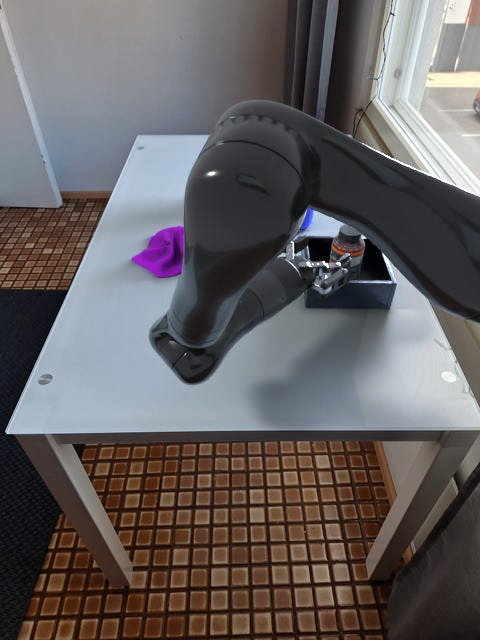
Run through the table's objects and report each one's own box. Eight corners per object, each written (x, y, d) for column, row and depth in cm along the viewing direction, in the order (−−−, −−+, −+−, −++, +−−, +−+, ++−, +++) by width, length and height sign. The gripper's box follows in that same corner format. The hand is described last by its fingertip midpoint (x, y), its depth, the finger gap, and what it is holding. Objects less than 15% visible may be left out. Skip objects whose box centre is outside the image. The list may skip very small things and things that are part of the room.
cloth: (123, 274, 96) (118, 248, 91) (149, 228, 109) (146, 203, 105) (232, 284, 93) (232, 257, 89) (245, 235, 107) (245, 210, 103)
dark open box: (374, 261, 99) (380, 236, 95) (390, 309, 87) (397, 283, 83) (299, 260, 99) (302, 235, 95) (305, 308, 88) (308, 282, 84)
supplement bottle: (323, 271, 95) (330, 221, 87) (352, 269, 95) (361, 219, 88) (331, 290, 90) (339, 238, 83) (361, 287, 91) (372, 236, 83)
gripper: (305, 291, 66) (367, 245, 75) (232, 253, 74) (296, 215, 82) (301, 330, 71) (359, 283, 80) (232, 291, 79) (293, 251, 87)
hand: (327, 248), depth 81 cm, fingers open, 8 cm apart
